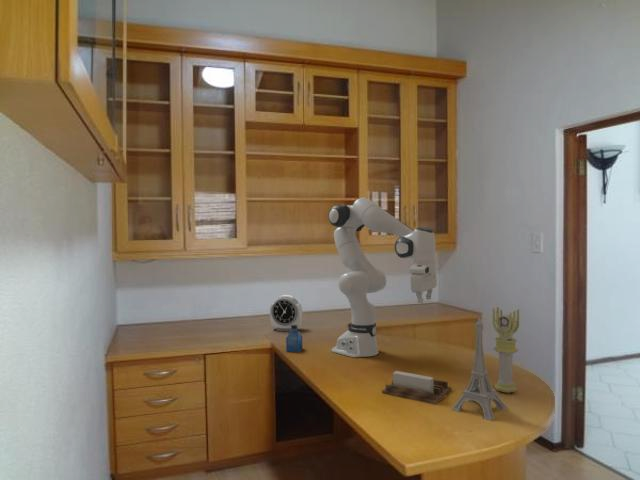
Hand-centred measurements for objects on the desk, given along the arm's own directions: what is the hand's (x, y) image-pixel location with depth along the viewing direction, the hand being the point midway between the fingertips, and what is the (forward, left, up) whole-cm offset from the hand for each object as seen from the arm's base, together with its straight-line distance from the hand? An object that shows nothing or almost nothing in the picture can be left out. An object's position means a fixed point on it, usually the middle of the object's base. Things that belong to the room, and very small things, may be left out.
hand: (424, 301), depth 188 cm
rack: (+6, -24, -29) cm, 38 cm away
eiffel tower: (+29, -28, -29) cm, 50 cm away
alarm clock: (-94, +29, -29) cm, 103 cm away
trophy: (+33, -7, -29) cm, 45 cm away
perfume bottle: (-65, -3, -29) cm, 71 cm away
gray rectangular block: (+6, -28, -28) cm, 40 cm away
